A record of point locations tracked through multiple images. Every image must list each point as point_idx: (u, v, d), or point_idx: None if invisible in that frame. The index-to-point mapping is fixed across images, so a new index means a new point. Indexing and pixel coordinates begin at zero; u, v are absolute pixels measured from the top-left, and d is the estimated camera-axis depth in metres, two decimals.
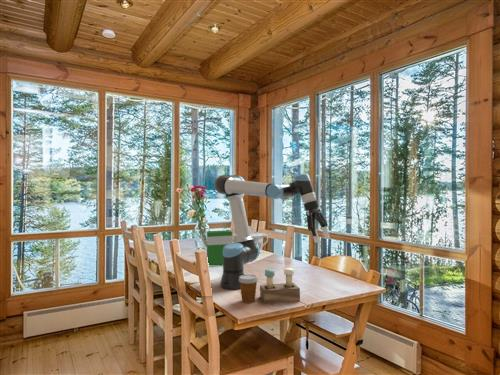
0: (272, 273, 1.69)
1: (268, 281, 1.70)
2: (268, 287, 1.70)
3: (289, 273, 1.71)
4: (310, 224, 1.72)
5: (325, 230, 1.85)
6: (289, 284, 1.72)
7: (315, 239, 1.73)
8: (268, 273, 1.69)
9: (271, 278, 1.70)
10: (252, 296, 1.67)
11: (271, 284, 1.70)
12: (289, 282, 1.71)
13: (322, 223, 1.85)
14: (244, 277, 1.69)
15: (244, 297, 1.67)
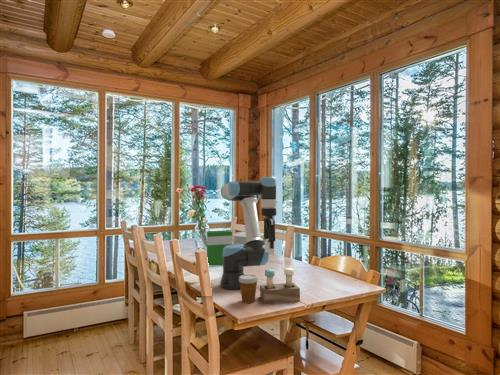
0: (272, 273, 1.69)
1: (268, 281, 1.70)
2: (268, 287, 1.70)
3: (289, 273, 1.71)
4: (273, 236, 1.64)
5: None
6: (289, 284, 1.72)
7: (270, 251, 1.67)
8: (268, 273, 1.69)
9: (271, 278, 1.70)
10: (252, 296, 1.67)
11: (271, 284, 1.70)
12: (289, 282, 1.71)
13: (268, 234, 1.75)
14: (244, 277, 1.69)
15: (244, 297, 1.67)
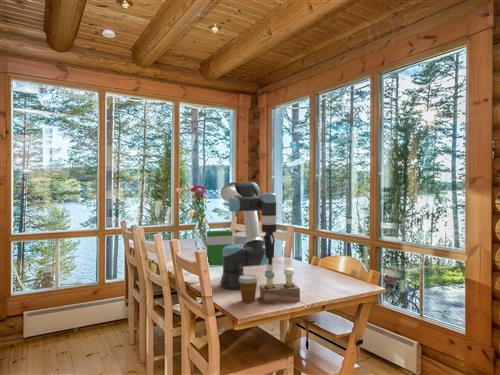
0: (272, 274, 1.69)
1: (268, 282, 1.70)
2: (268, 288, 1.70)
3: (289, 273, 1.71)
4: (272, 253, 1.67)
5: None
6: (289, 284, 1.72)
7: (269, 267, 1.70)
8: (268, 274, 1.69)
9: (271, 279, 1.70)
10: (252, 296, 1.67)
11: (271, 285, 1.70)
12: (289, 282, 1.71)
13: None
14: (244, 277, 1.69)
15: (244, 297, 1.67)
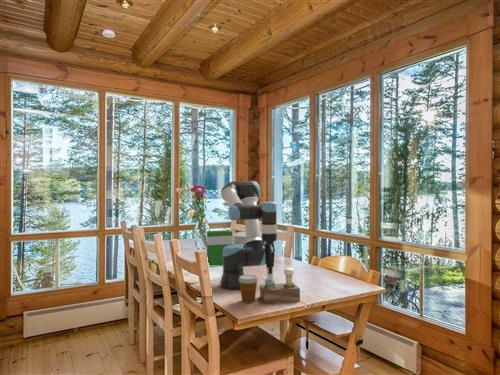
0: (272, 283, 1.69)
1: None
2: None
3: (289, 273, 1.71)
4: (272, 263, 1.67)
5: None
6: (289, 284, 1.72)
7: (269, 276, 1.70)
8: (268, 283, 1.69)
9: (271, 288, 1.70)
10: (252, 296, 1.67)
11: None
12: (289, 282, 1.71)
13: None
14: (244, 277, 1.69)
15: (244, 297, 1.67)
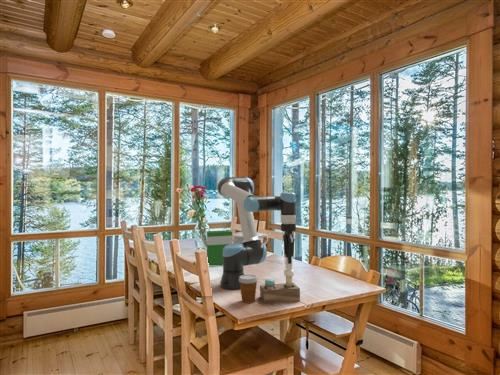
0: (272, 283, 1.69)
1: None
2: None
3: (289, 274, 1.71)
4: (292, 252, 1.69)
5: None
6: (289, 285, 1.72)
7: (288, 266, 1.72)
8: (268, 283, 1.69)
9: (271, 288, 1.70)
10: (252, 296, 1.67)
11: None
12: (289, 283, 1.71)
13: None
14: (244, 277, 1.69)
15: (244, 297, 1.67)
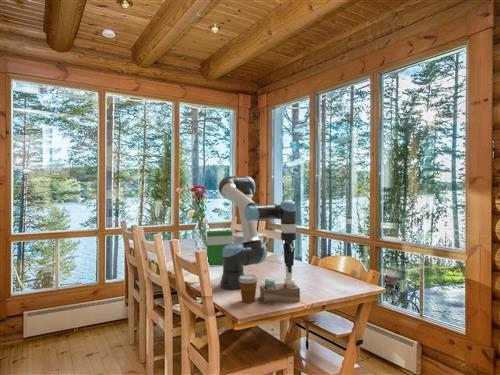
0: (272, 283, 1.69)
1: None
2: None
3: (289, 283, 1.71)
4: (292, 261, 1.69)
5: None
6: None
7: (288, 275, 1.72)
8: (268, 283, 1.69)
9: (271, 288, 1.70)
10: (252, 296, 1.67)
11: None
12: None
13: None
14: (244, 277, 1.69)
15: (244, 297, 1.67)
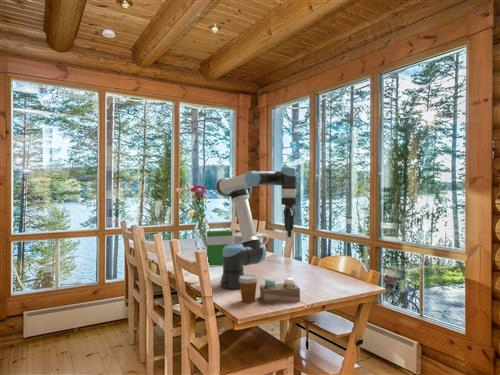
0: (272, 283, 1.69)
1: None
2: None
3: (289, 283, 1.71)
4: (291, 226, 1.71)
5: None
6: None
7: (288, 240, 1.74)
8: (268, 283, 1.69)
9: (271, 288, 1.70)
10: (252, 296, 1.67)
11: None
12: None
13: None
14: (244, 277, 1.69)
15: (244, 297, 1.67)
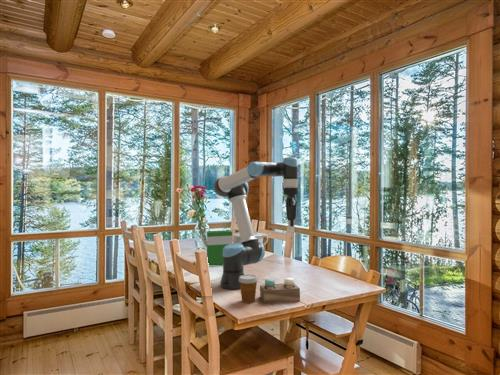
0: (272, 283, 1.69)
1: None
2: None
3: (289, 283, 1.71)
4: (294, 215, 1.74)
5: None
6: None
7: (290, 229, 1.77)
8: (268, 283, 1.69)
9: (271, 288, 1.70)
10: (252, 296, 1.67)
11: None
12: None
13: None
14: (244, 277, 1.69)
15: (244, 297, 1.67)
